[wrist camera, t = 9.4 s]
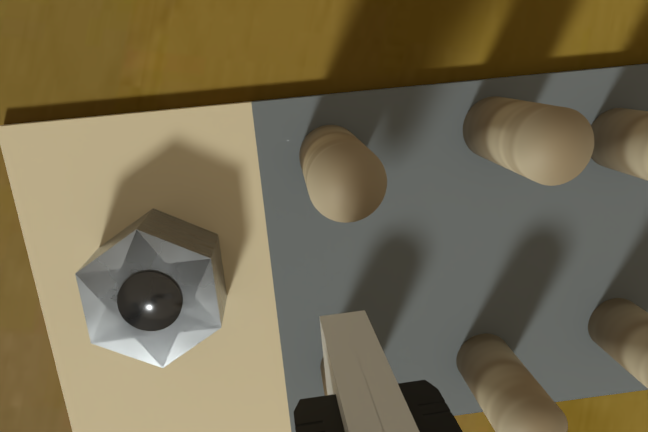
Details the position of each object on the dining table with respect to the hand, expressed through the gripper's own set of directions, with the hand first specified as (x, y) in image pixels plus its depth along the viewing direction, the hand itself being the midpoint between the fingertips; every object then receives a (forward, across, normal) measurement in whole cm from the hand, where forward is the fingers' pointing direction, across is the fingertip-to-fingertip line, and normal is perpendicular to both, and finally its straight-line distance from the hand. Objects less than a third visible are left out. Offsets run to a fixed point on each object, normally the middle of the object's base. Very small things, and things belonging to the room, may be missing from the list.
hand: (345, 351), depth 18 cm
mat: (+7, +3, 0) cm, 8 cm away
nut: (+7, -7, +1) cm, 10 cm away
